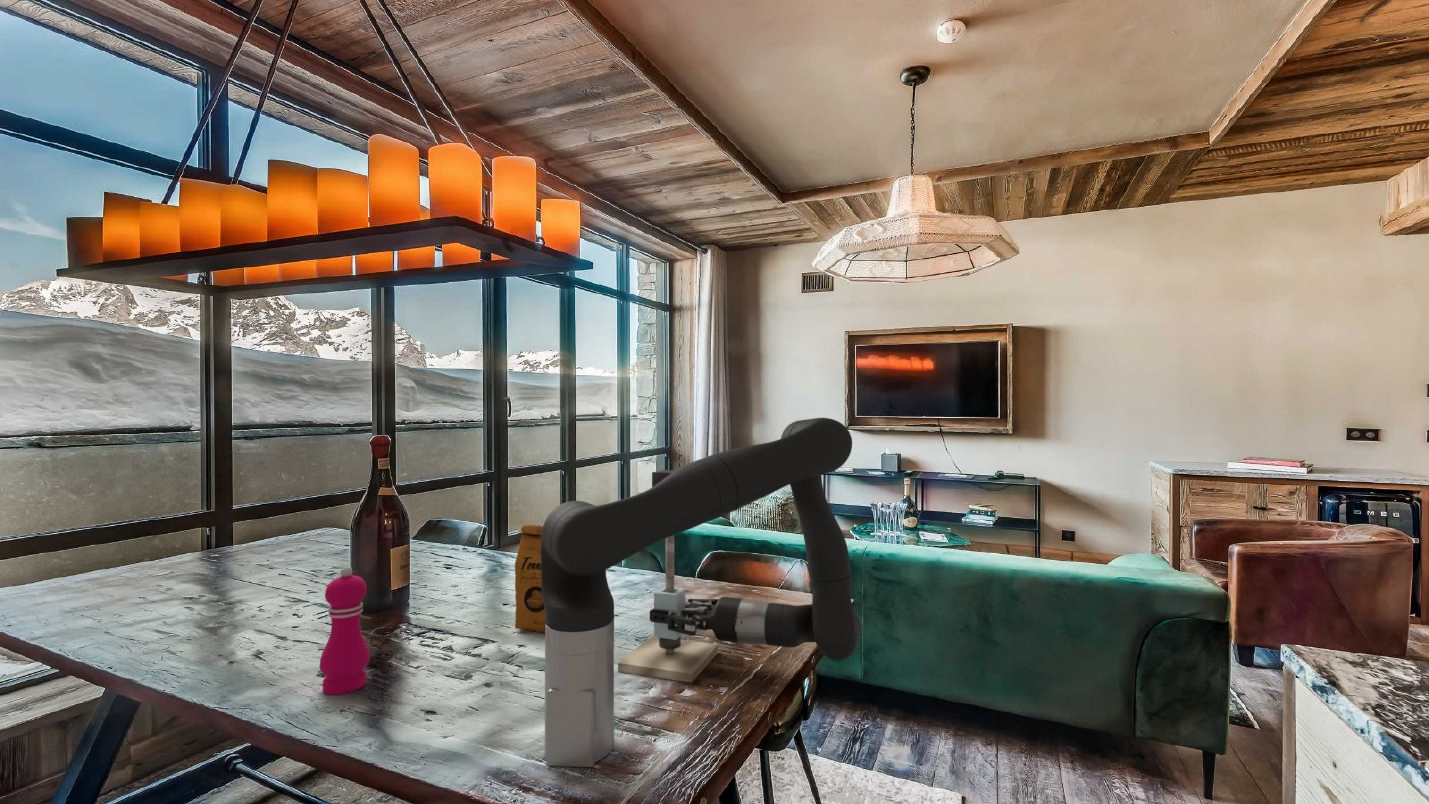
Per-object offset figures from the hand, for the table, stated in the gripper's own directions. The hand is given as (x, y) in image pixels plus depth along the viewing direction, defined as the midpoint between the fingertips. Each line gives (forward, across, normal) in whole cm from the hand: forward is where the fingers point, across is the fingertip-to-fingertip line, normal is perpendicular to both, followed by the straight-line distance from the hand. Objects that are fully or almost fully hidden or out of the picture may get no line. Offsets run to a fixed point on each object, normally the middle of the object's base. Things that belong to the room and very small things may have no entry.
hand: (656, 611), depth 113 cm
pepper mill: (+45, +27, +9) cm, 53 cm away
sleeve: (-3, 0, +4) cm, 5 cm away
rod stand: (-3, 0, +9) cm, 9 cm away
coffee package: (+30, -8, +9) cm, 32 cm away
